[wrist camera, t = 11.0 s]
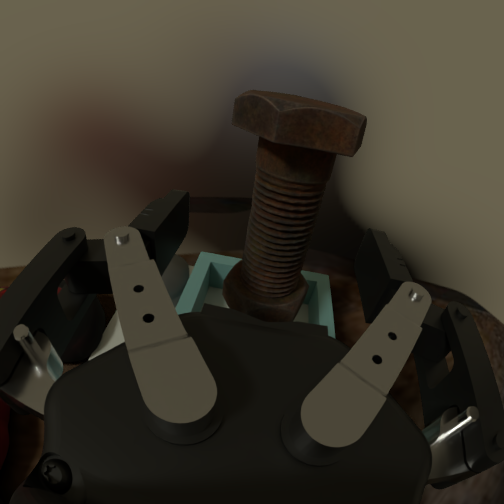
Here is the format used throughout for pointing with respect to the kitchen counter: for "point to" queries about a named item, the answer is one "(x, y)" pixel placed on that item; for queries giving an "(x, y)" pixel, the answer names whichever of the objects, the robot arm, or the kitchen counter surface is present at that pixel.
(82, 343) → the toy motorcycle
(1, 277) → the kitchen counter surface
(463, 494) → the kitchen counter surface
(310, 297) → the chassis bay
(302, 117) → the bolt
